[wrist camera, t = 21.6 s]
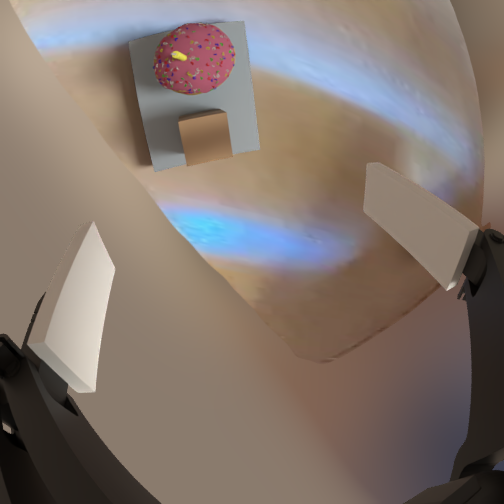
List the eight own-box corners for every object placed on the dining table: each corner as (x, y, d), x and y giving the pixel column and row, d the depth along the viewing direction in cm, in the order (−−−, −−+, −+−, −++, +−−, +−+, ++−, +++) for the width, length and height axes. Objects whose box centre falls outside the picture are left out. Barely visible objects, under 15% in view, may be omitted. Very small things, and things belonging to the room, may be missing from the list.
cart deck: (132, 45, 24) (128, 41, 21) (239, 25, 26) (244, 20, 23) (156, 165, 35) (154, 172, 32) (254, 144, 36) (259, 149, 34)
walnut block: (178, 116, 29) (178, 121, 24) (219, 108, 30) (226, 112, 25) (186, 153, 32) (186, 166, 27) (224, 145, 33) (232, 156, 28)
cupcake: (166, 103, 28) (157, 110, 18) (150, 42, 22) (133, 19, 13) (234, 85, 28) (262, 83, 19) (221, 25, 23) (242, -5, 14)
